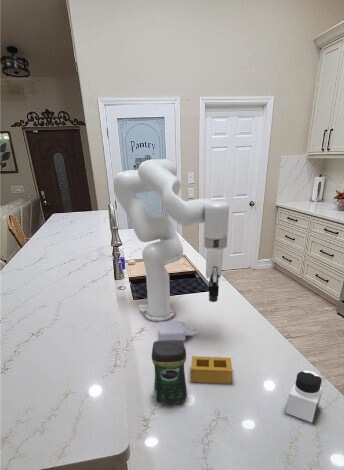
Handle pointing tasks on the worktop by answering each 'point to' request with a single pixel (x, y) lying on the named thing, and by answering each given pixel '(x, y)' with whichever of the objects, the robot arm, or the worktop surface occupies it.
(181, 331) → the charger
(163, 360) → the coffee jar
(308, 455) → the worktop surface
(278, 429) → the worktop surface
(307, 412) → the medicine bottle
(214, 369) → the ochre block
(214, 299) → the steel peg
